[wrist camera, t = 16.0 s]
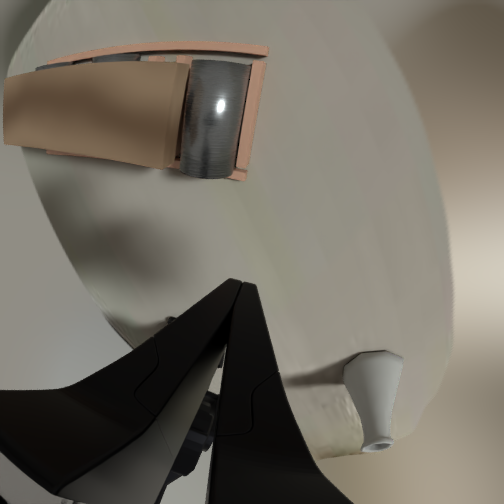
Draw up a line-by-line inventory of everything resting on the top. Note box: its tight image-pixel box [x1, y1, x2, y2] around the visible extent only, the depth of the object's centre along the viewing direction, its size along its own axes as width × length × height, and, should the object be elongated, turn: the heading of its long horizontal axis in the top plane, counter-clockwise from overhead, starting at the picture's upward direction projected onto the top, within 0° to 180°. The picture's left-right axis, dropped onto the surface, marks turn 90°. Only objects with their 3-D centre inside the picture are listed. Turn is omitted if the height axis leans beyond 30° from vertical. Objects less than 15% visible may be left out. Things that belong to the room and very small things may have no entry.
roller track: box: [46, 41, 269, 181], centre depth 16 cm, size 9×20×1 cm, turn 81°
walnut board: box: [3, 61, 190, 170], centre depth 14 cm, size 6×17×2 cm, turn 78°
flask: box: [343, 351, 404, 452], centre depth 23 cm, size 7×7×10 cm
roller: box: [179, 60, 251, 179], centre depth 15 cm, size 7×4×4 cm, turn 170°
